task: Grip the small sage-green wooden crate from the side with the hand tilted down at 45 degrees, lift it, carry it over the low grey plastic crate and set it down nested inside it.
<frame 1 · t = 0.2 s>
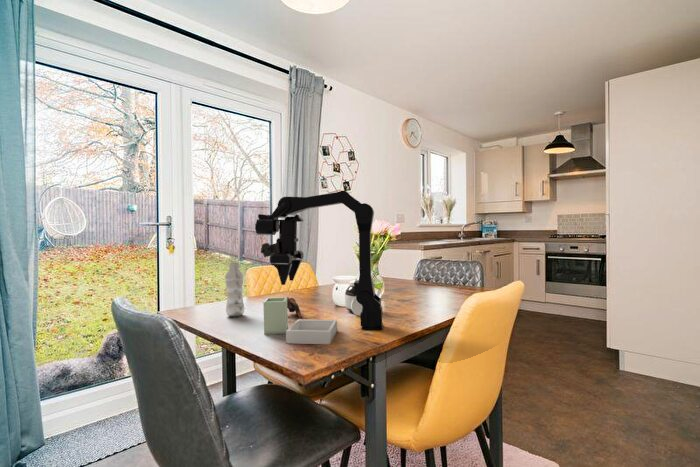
hand: (287, 282, 117), 15 cm above the table, tool pointing down, fingers open, 9 cm apart
plastic bottle: (235, 316, 132), on the table
spread jar: (359, 313, 135), on the table
green crate: (276, 331, 112), on the table
pottery mug: (288, 317, 131), on the table
grey crate: (313, 336, 105), on the table
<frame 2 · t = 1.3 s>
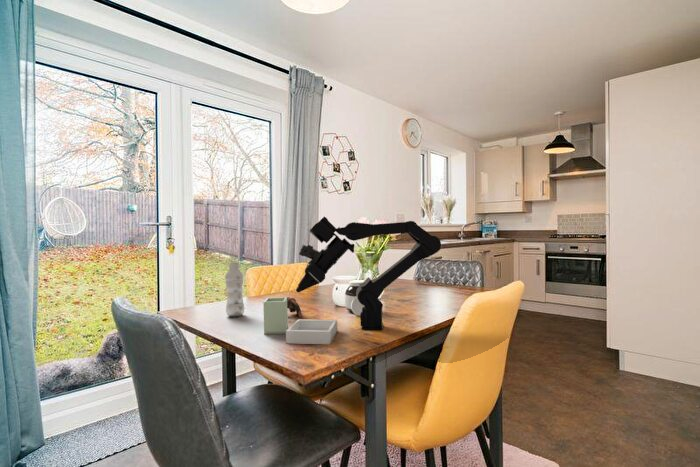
hand: (298, 288, 112), 13 cm above the table, tool tilted 45°, fingers open, 9 cm apart
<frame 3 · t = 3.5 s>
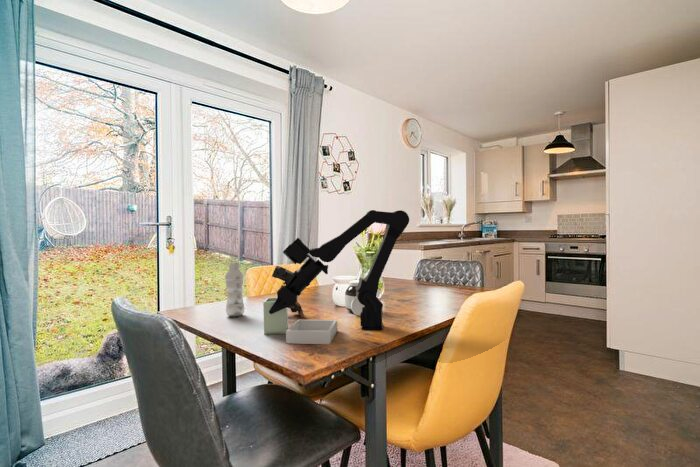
hand: (271, 310, 112), 7 cm above the table, tool tilted 45°, fingers closed on green crate, 6 cm apart
green crate: (276, 331, 112), on the table, touching gripper
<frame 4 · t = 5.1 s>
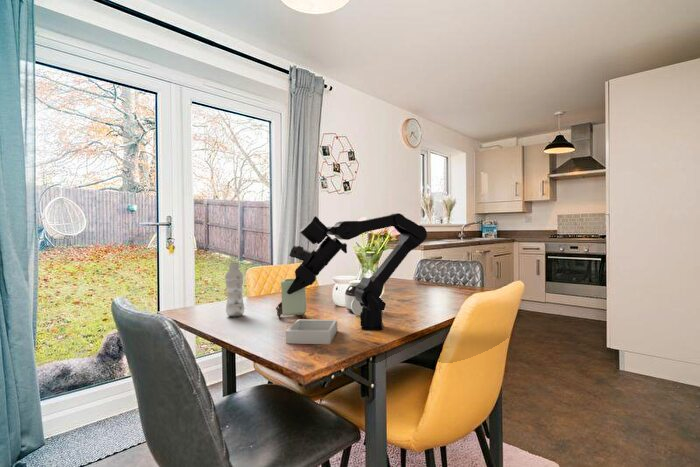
hand: (289, 291, 109), 13 cm above the table, tool tilted 45°, fingers closed on green crate, 6 cm apart
green crate: (294, 312, 109), point 6 cm above the table, touching gripper
when the fingers open (9 cm above the table, at t = 7.2 s): green crate drops 1 cm, resting on grey crate.
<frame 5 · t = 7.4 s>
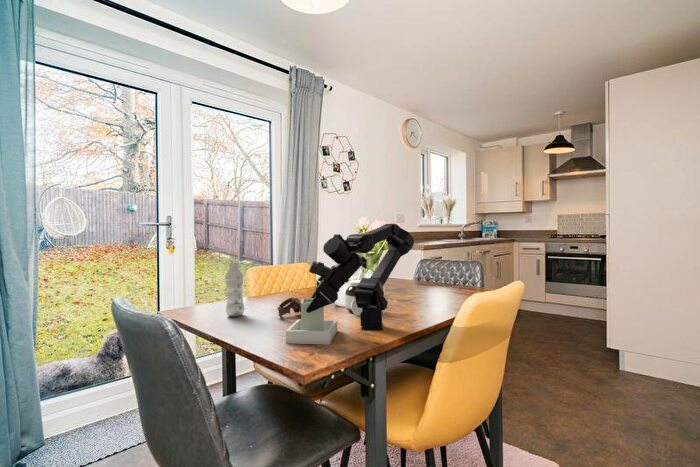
hand: (307, 308, 105), 9 cm above the table, tool tilted 45°, fingers open, 9 cm apart
green crate: (313, 334, 105), point 1 cm above the table, touching grey crate
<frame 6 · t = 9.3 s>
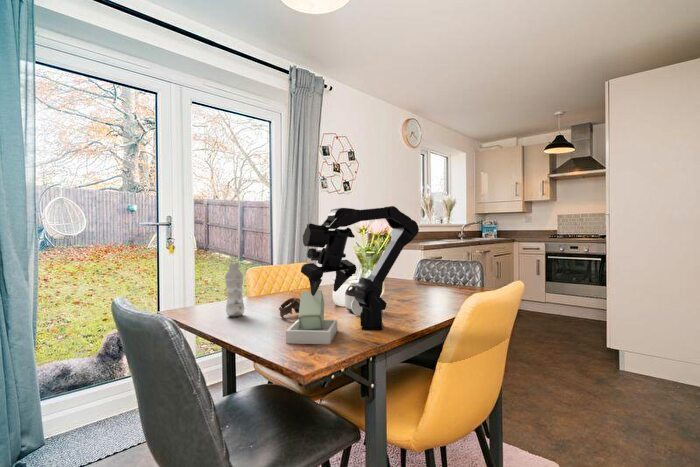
hand: (323, 293, 113), 11 cm above the table, tool tilted 20°, fingers open, 9 cm apart
green crate: (310, 323, 106), point 4 cm above the table, tilted 53°, touching grey crate
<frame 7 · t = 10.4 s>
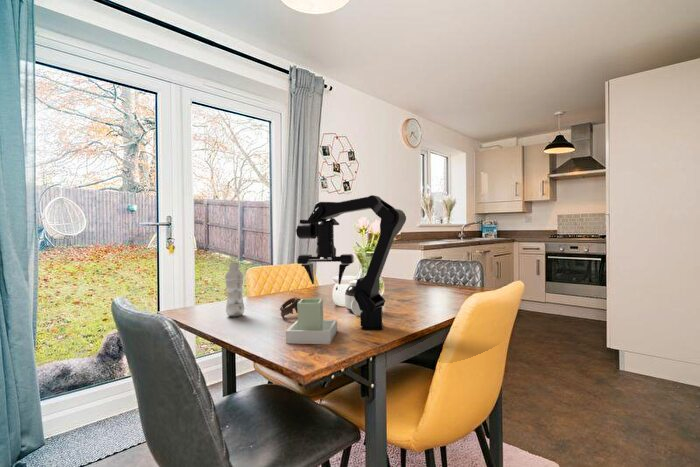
hand: (326, 284, 122), 13 cm above the table, tool pointing down, fingers open, 9 cm apart
green crate: (311, 334, 105), point 1 cm above the table, touching grey crate
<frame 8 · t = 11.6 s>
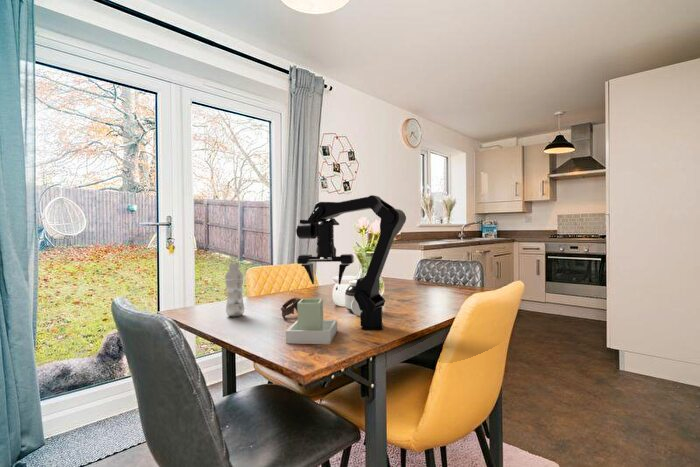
hand: (326, 284, 122), 13 cm above the table, tool pointing down, fingers open, 9 cm apart
at the end: green crate 0.7 cm off-centre on the grey crate, point 0.8 cm above the grey crate's base; green crate tilted 0°; the gripper is holding nothing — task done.
